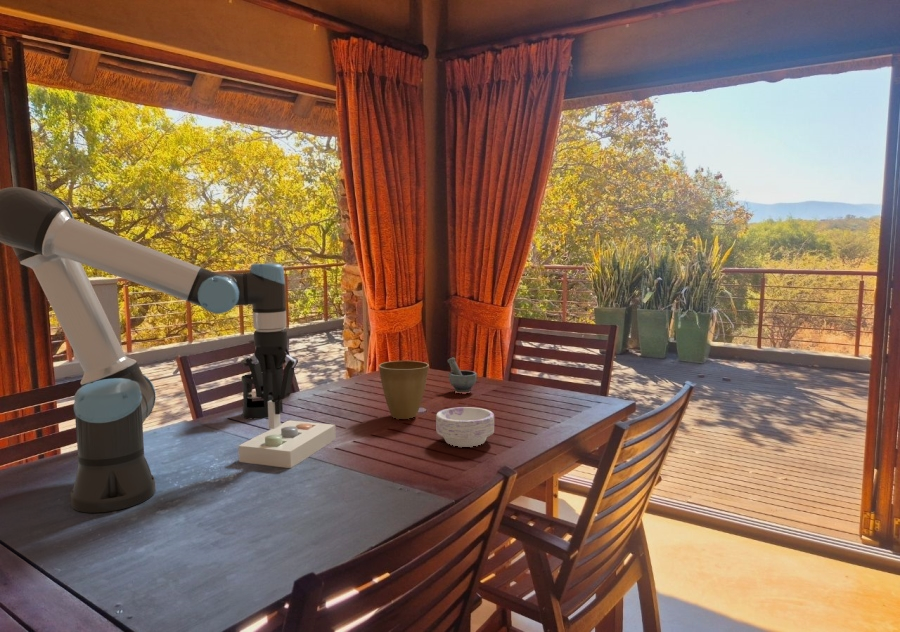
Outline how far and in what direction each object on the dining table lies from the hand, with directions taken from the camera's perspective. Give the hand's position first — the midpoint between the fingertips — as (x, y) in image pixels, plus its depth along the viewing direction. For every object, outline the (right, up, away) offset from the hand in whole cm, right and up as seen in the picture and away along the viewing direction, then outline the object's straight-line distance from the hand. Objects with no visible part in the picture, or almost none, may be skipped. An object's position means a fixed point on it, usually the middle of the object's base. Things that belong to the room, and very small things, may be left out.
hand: (274, 426), depth 144 cm
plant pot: (+28, -4, +38) cm, 47 cm away
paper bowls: (+46, -7, +14) cm, 48 cm away
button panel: (+2, -7, +7) cm, 11 cm away
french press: (-16, -4, +40) cm, 43 cm away
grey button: (+2, -6, +7) cm, 9 cm away
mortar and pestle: (+46, -1, +69) cm, 83 cm away
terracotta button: (+4, -6, +14) cm, 16 cm away
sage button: (0, -7, +1) cm, 7 cm away
